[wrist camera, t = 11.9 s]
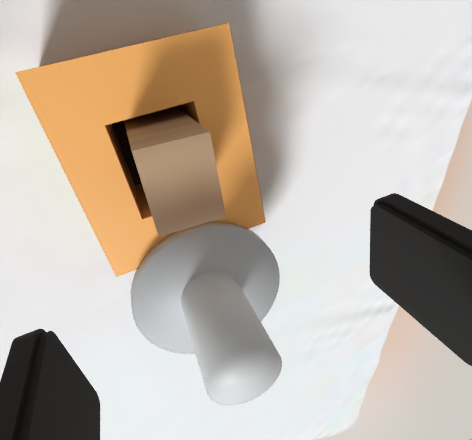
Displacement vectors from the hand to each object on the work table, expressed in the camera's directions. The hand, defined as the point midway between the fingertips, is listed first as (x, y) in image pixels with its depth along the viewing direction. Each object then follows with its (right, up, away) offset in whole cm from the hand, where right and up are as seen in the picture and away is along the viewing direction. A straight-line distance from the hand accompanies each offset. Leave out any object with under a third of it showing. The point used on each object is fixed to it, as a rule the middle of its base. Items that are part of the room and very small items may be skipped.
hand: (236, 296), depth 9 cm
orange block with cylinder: (-6, +5, +21) cm, 22 cm away
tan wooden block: (-7, +9, +18) cm, 22 cm away
